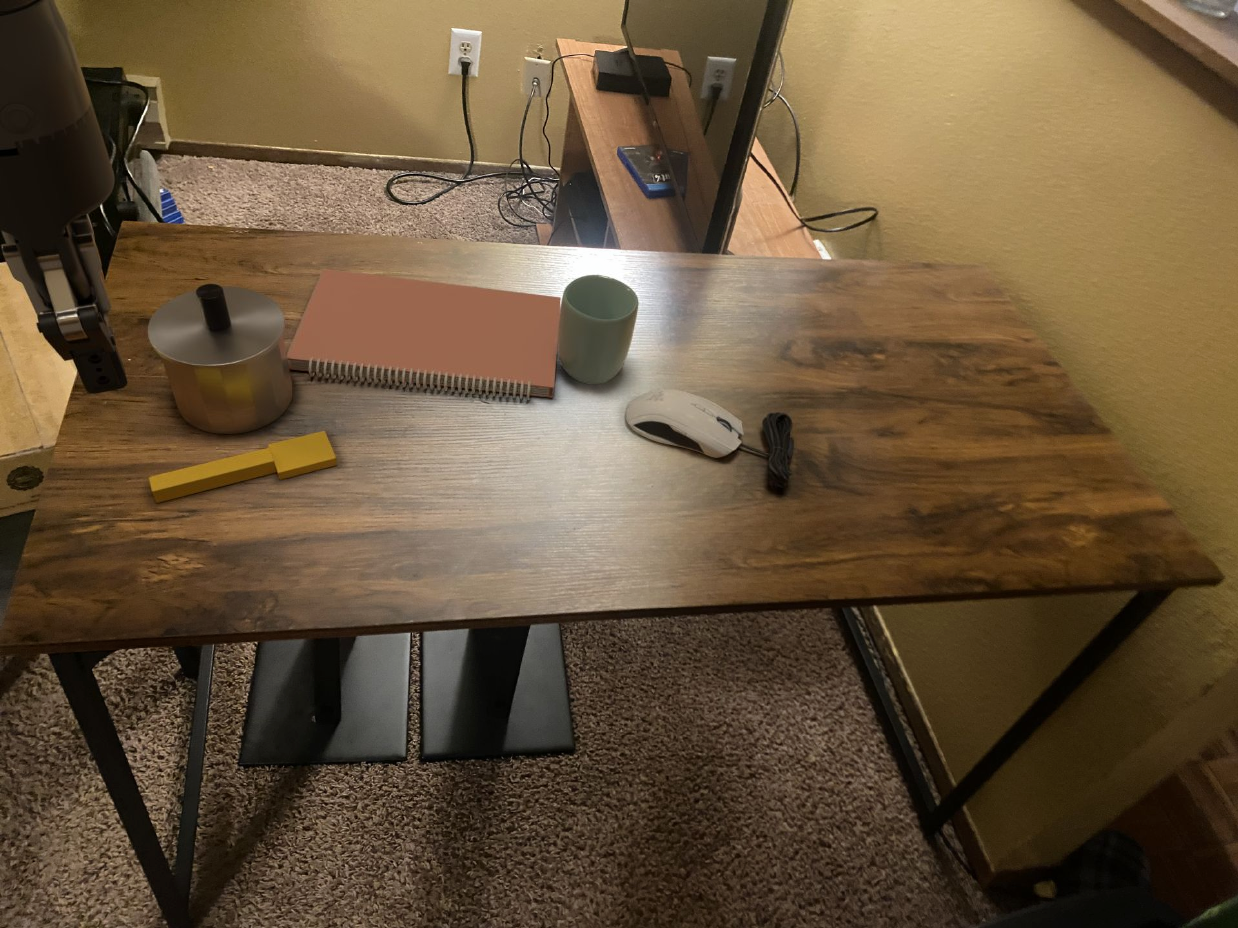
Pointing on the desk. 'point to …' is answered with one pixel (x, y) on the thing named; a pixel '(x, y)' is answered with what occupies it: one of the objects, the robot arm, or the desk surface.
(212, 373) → the pot
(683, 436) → the computer mouse
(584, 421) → the desk surface
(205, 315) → the pot lid
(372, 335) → the notebook
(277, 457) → the stepped yellow stick
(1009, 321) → the desk surface
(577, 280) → the cup
